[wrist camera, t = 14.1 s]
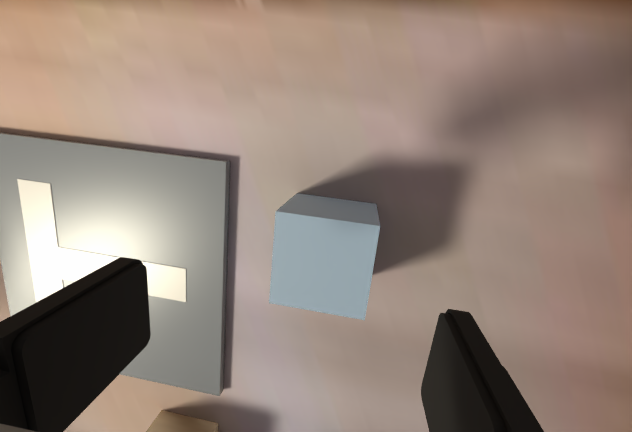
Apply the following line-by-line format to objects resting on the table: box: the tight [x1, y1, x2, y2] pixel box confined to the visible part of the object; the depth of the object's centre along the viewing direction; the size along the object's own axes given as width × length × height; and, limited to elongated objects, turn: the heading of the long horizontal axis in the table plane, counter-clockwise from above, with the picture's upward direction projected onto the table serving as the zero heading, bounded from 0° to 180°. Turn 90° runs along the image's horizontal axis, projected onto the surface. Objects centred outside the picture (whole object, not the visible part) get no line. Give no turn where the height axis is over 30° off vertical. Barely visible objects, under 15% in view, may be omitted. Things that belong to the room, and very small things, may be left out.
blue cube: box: [269, 193, 380, 320], centre depth 18 cm, size 5×5×5 cm
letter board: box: [0, 132, 230, 396], centre depth 23 cm, size 18×18×1 cm
